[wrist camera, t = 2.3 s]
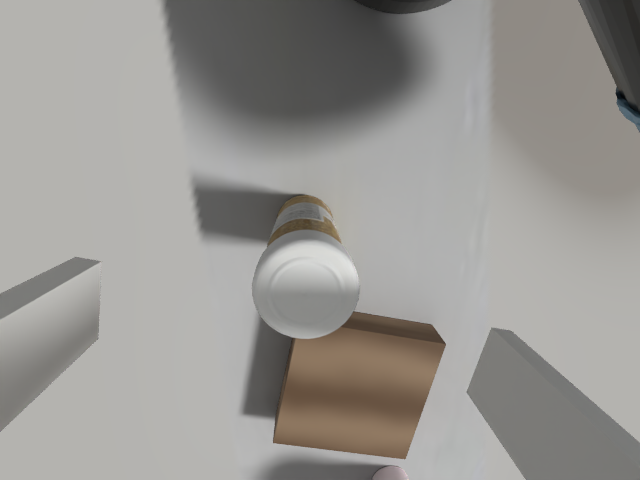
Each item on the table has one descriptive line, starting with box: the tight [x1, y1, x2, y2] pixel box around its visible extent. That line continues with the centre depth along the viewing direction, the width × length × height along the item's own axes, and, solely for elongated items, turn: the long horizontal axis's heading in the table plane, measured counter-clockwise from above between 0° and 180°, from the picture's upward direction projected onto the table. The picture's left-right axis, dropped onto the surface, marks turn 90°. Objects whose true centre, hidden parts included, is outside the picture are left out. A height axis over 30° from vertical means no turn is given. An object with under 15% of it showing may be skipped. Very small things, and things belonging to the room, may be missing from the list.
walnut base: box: [273, 312, 446, 459], centre depth 29 cm, size 12×12×3 cm
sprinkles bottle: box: [252, 195, 360, 339], centre depth 20 cm, size 5×5×13 cm
